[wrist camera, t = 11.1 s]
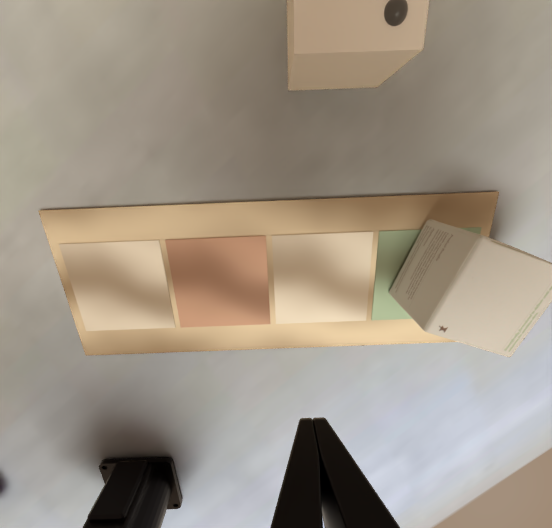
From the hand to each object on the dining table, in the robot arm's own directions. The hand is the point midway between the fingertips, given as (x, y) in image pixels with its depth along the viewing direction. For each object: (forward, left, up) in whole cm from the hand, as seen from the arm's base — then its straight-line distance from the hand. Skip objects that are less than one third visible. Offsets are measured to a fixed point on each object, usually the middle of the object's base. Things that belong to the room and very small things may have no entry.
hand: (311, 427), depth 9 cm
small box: (+1, -10, -11) cm, 15 cm away
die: (+15, -3, -11) cm, 19 cm away
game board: (+1, +1, -11) cm, 11 cm away
